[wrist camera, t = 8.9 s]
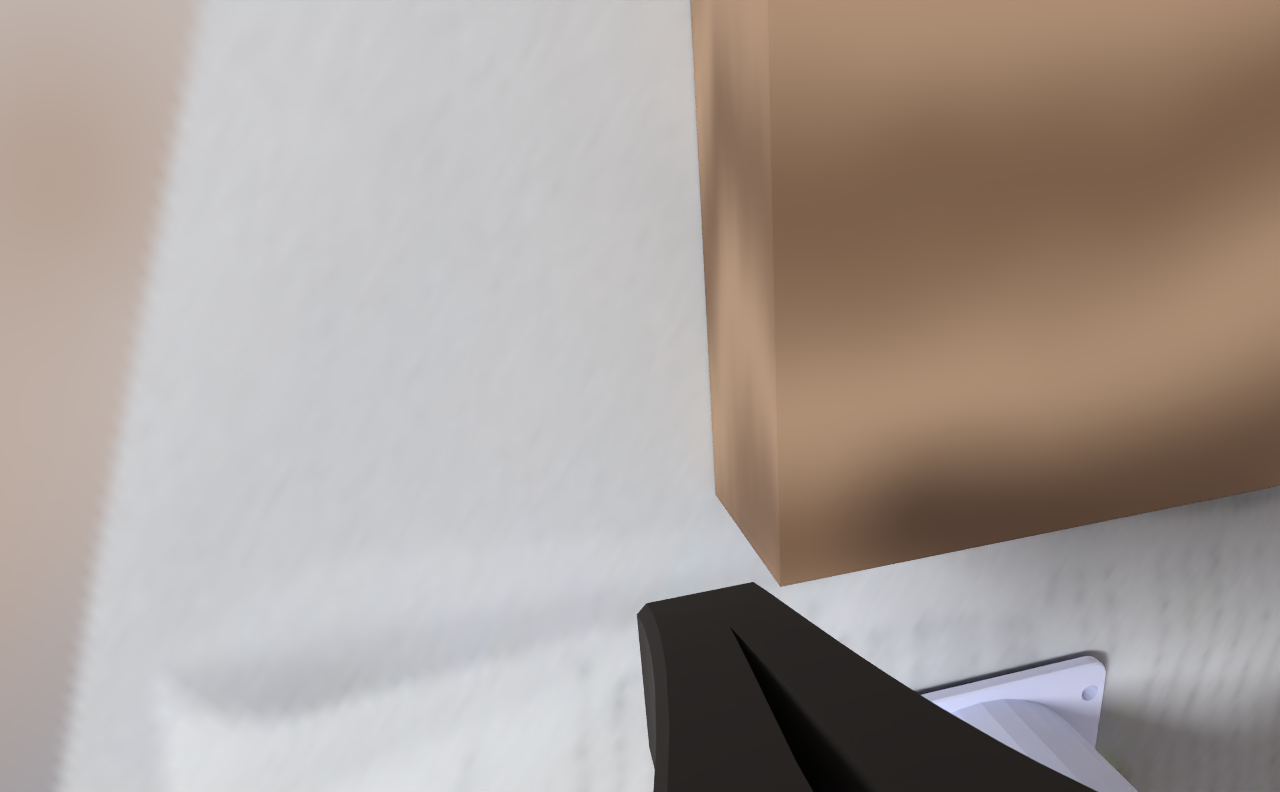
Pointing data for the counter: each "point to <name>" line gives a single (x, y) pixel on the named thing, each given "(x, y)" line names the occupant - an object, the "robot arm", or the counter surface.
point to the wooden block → (985, 267)
